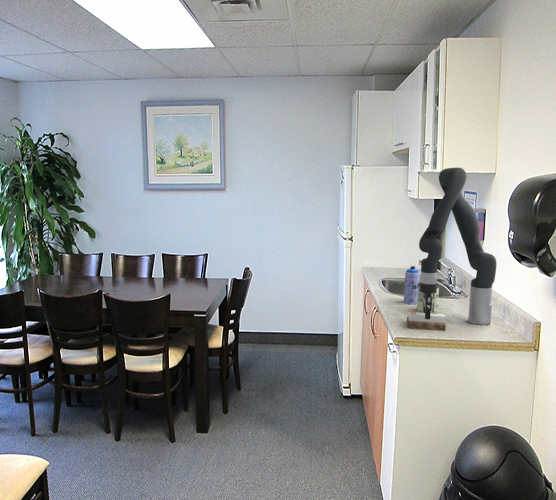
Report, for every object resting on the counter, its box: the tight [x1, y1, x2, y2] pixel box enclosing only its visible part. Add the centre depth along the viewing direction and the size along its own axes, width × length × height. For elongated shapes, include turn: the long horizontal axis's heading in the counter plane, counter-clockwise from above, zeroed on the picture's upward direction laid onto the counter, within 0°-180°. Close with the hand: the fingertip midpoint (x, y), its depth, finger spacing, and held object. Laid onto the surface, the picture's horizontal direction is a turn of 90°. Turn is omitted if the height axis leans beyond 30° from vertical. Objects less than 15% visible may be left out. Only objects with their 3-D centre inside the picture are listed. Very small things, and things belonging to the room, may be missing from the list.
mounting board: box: [406, 315, 447, 332], centre depth 220 cm, size 16×10×2 cm, turn 78°
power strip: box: [407, 311, 447, 324], centre depth 219 cm, size 16×4×6 cm, turn 78°
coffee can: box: [416, 282, 440, 314], centre depth 243 cm, size 10×10×14 cm
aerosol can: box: [403, 265, 421, 306], centre depth 259 cm, size 8×8×20 cm
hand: (426, 316), depth 219 cm, fingers open, 8 cm apart
